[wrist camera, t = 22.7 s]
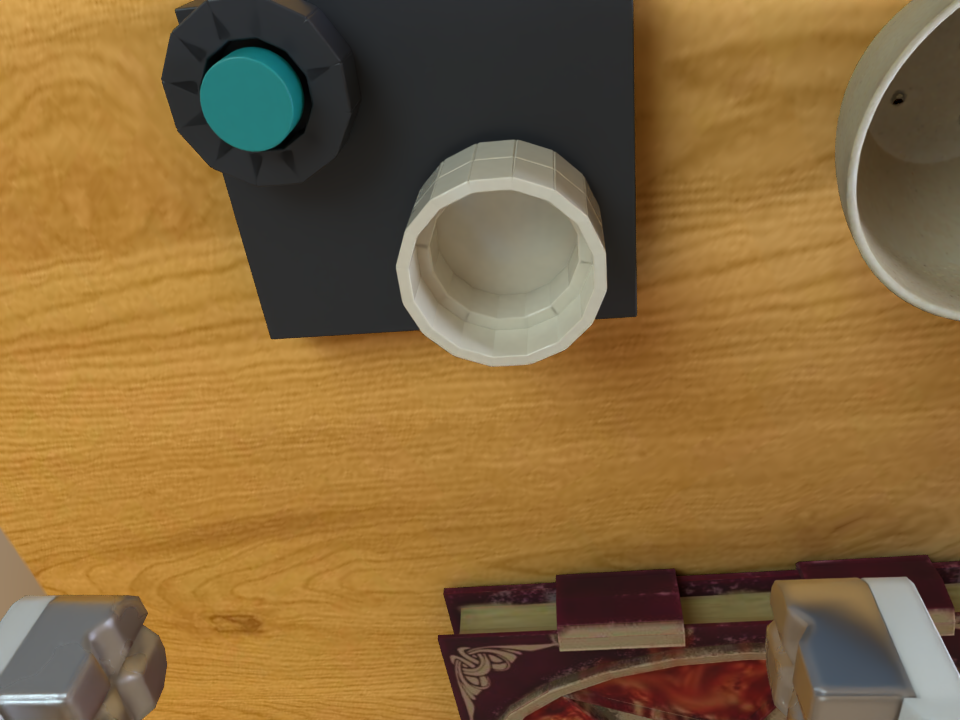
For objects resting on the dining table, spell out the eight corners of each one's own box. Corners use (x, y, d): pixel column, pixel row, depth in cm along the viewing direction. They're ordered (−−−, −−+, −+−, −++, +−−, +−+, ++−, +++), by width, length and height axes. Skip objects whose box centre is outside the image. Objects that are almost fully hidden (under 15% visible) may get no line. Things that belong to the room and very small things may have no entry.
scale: (275, 316, 33) (249, 362, 30) (182, -12, 27) (137, 7, 24) (632, 292, 31) (641, 340, 28) (627, -65, 25) (637, -51, 22)
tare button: (229, 142, 26) (214, 156, 25) (203, 51, 25) (187, 61, 23) (313, 134, 26) (303, 148, 25) (292, 41, 24) (280, 51, 23)
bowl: (429, 312, 30) (414, 371, 27) (401, 144, 27) (380, 187, 24) (603, 301, 30) (609, 360, 26) (596, 126, 26) (603, 169, 23)
